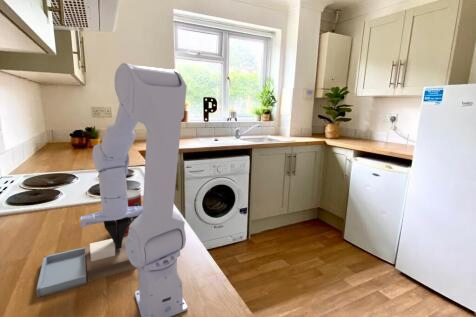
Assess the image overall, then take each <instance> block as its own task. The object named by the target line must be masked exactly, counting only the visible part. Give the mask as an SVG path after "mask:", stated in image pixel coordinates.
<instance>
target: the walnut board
mask: <svg viewBox="0 0 476 317" xmlns="http://www.w3.org/2000/svg"><path fill="white" fill-rule="evenodd" d="M127 236H128V235H126V236H124V237H123V241H122V248H119V249H116V248H115V256H111V257H107V258H103V259H99V260H95V261H91V254H90V244H87V245H85V257H86V277H87V282H91V281H95V280H98V279H102V278H105V277H108V276H109V277H110V276H113V275H116V274H120V273H122V272H126V271H130V270H134V269H136V267H135V266H133V265H132V264H131V263H130V261H129V259H128V256H127V253H126V247H125V242H126V239H127ZM113 243H114V241H113ZM114 247H115V244H114Z"/></svg>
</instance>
